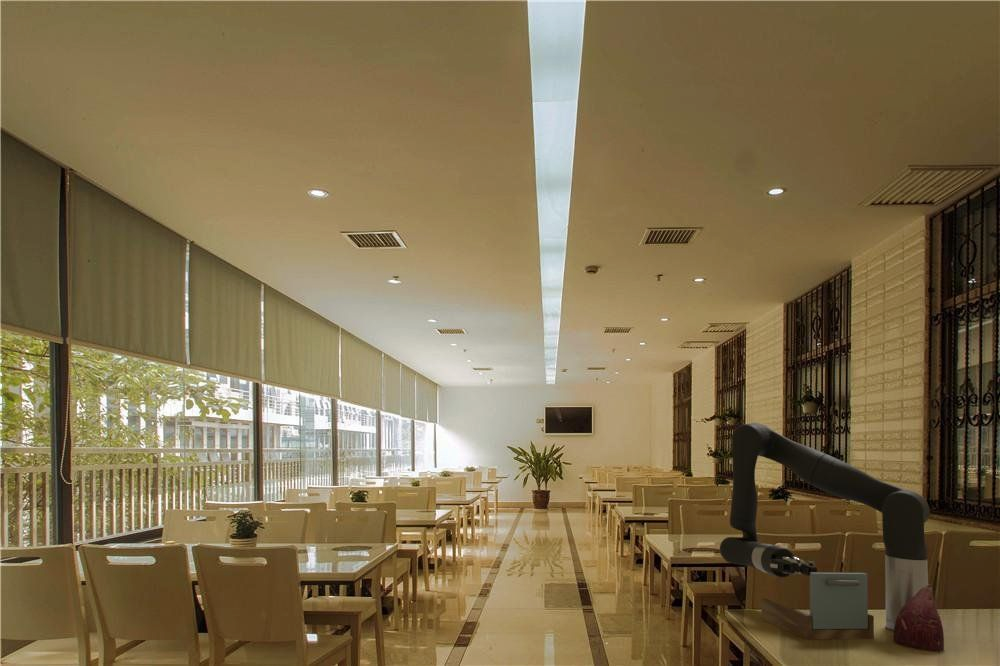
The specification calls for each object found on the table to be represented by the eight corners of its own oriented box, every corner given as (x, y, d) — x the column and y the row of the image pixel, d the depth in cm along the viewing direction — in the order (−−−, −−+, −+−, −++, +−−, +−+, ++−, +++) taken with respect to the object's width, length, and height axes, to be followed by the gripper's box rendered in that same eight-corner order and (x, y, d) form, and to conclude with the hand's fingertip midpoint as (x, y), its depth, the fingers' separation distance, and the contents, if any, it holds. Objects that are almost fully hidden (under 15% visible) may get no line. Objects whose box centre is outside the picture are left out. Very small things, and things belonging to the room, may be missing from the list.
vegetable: (930, 655, 180) (942, 590, 183) (951, 662, 170) (963, 593, 173) (883, 639, 181) (896, 575, 185) (901, 645, 171) (914, 577, 175)
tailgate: (864, 627, 180) (863, 572, 182) (871, 630, 178) (871, 575, 180) (809, 627, 177) (809, 572, 179) (816, 630, 175) (816, 574, 176)
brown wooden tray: (823, 619, 197) (823, 598, 197) (873, 638, 179) (873, 615, 180) (761, 619, 193) (761, 598, 193) (806, 639, 175) (806, 616, 176)
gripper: (750, 544, 204) (790, 555, 187) (795, 545, 207) (838, 556, 190) (750, 574, 203) (790, 588, 186) (795, 574, 206) (838, 588, 189)
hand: (814, 572), depth 188 cm, fingers closed
